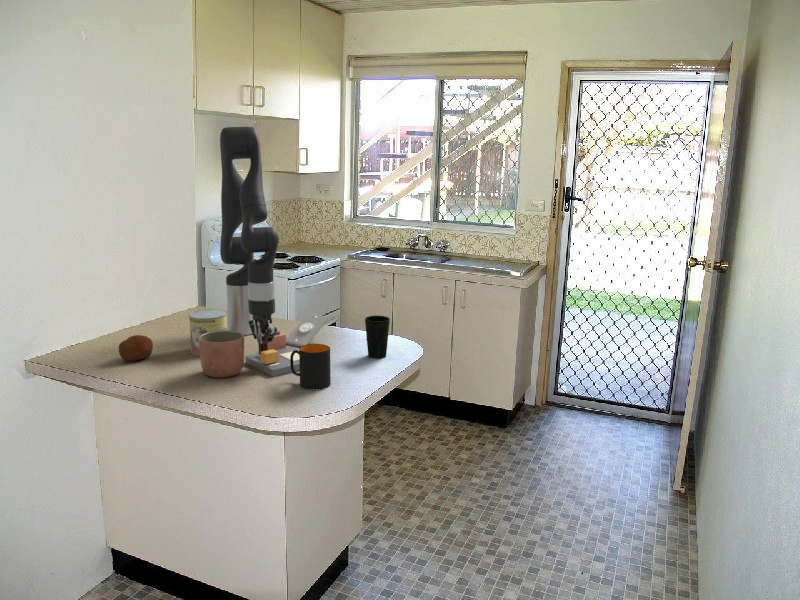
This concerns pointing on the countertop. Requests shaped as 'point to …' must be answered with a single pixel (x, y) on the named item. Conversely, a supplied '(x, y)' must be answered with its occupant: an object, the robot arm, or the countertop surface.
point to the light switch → (306, 330)
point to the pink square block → (277, 341)
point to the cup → (377, 336)
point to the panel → (279, 366)
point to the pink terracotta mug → (221, 353)
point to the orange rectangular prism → (269, 356)
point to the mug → (313, 366)
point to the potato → (135, 348)
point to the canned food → (205, 325)
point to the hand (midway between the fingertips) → (263, 354)
